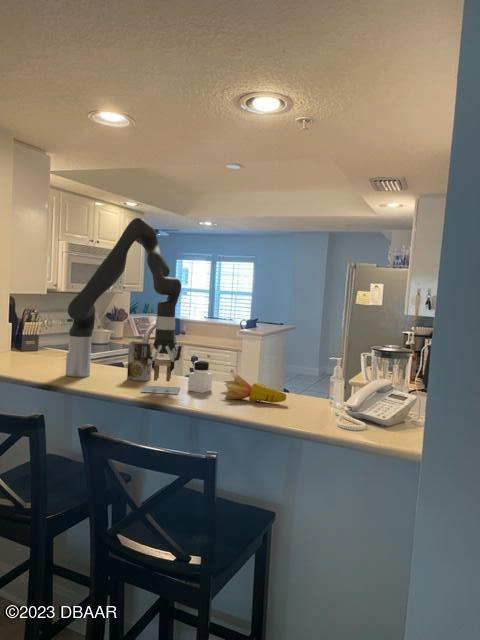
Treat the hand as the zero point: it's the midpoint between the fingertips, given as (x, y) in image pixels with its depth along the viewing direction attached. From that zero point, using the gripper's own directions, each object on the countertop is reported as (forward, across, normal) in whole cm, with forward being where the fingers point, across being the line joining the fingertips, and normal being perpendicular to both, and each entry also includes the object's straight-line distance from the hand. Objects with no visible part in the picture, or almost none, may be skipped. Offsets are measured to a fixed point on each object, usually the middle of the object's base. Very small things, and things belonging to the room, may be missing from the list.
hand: (162, 370), depth 179 cm
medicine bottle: (+8, -15, -4) cm, 17 cm away
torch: (+9, -35, +10) cm, 38 cm away
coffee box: (+8, +12, -20) cm, 25 cm away
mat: (+8, 0, 0) cm, 8 cm away
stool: (+4, 0, 0) cm, 4 cm away
